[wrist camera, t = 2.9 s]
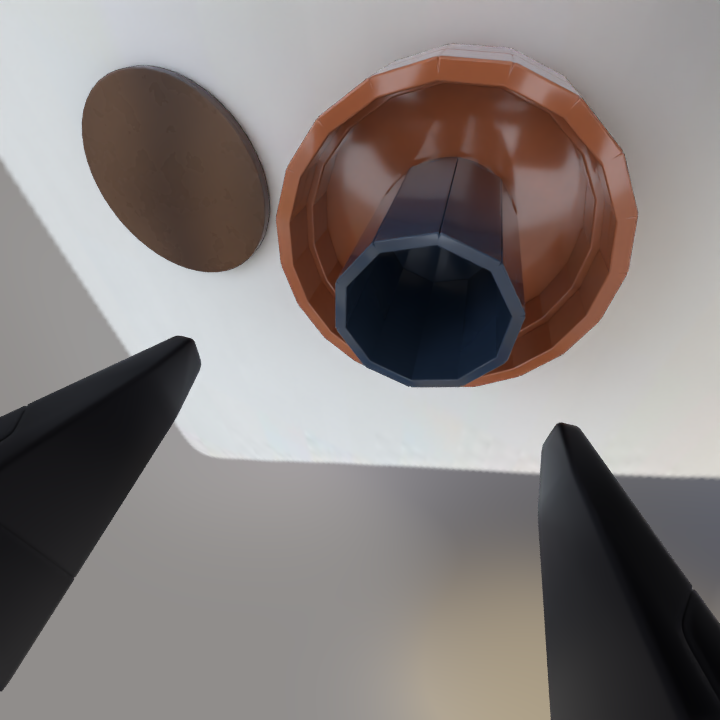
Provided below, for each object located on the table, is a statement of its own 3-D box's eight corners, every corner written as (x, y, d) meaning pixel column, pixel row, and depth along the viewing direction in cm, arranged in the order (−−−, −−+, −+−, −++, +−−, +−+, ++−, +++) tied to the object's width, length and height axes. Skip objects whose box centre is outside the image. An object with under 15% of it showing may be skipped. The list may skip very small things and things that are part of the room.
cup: (535, 162, 16) (553, 250, 10) (492, 294, 20) (489, 404, 15) (387, 144, 16) (334, 216, 11) (376, 274, 21) (335, 371, 16)
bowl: (682, 58, 13) (741, 80, 10) (540, 351, 22) (547, 411, 19) (306, 30, 15) (255, 40, 12) (318, 309, 24) (290, 357, 21)
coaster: (255, 75, 17) (248, 77, 16) (279, 280, 23) (275, 285, 23) (54, 56, 18) (43, 57, 18) (132, 253, 25) (126, 258, 25)
